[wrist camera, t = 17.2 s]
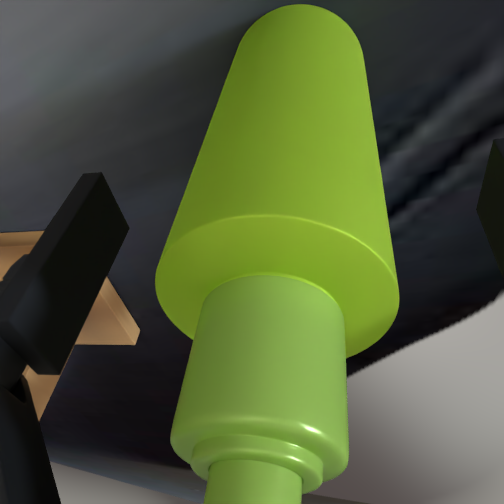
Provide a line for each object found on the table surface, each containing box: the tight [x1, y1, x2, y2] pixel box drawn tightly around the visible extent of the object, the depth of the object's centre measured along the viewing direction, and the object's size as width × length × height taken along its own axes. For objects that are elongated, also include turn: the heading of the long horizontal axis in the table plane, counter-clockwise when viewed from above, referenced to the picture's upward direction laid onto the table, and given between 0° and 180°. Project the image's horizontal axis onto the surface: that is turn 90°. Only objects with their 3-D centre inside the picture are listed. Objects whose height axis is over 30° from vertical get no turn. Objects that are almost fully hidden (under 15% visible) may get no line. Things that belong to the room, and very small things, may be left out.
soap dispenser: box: [155, 4, 399, 504], centre depth 13 cm, size 6×7×20 cm
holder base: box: [0, 231, 140, 421], centre depth 30 cm, size 12×11×12 cm
